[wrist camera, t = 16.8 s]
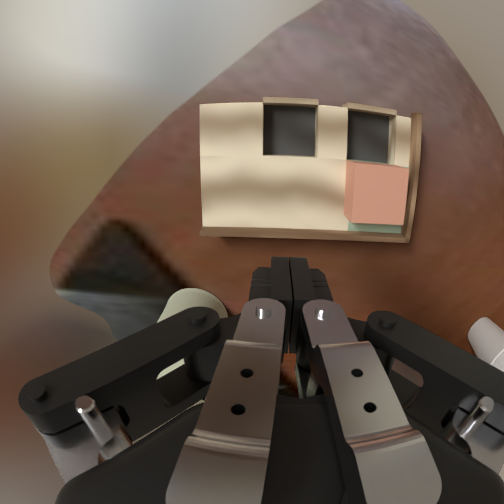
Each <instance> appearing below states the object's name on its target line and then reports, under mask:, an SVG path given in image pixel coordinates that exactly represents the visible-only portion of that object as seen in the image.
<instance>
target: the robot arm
mask: <svg viewBox="0 0 504 504" xmlns="http://www.w3.org/2000/svg"><path fill="white" fill-rule="evenodd" d="M288 343H289V353H296V365H295V372H296V378H297V384H298V390H299V397H300V399H297V398H292V397H287V396H282V395H278V387H279V378H280V369H281V364H282V362H283V357H284V353H288ZM182 359H184V364H183V365H181V366H180V367H178V368H176V369H174V370H173V371H171V372H169V373H167V374H166V375H164V376H162V377H160V378H158V379H157V377H158V375H159V374H160V373H161V372H162V371H163V370H164V369H166V368H168V367H169V366H171V365H173V364H175V363H177V362H178V361H180V360H182ZM204 397H206V399H205V401H204V403H201V404H198V405H196V406H193V407H191V408H189V407H190V406H192V405H194V404H195V403H197V402H198V401H199V400H201V399H203V398H204ZM18 400H19V405H20V407H21V409H22V410H23V411H24V413H25V414H26V415H27V416H28V418H29V419H30V420H31V422H32V423H33V425H34V427H35V428H36V429H37V431H38V432H39V433H40V434H41V435H42V437H43V438H44V439H45V442H46V444H47V447H48V449H49V451H50V454H51V456H52V458H53V460H54V462H55V464H56V466H57V468H58V470H59V472H60V474H61V476H62V478H63V480H64V482H65V485H64V487H63V488H62V489H61V491H60V492H59V494H58V496H57V499H56V502H55V504H504V482H503V480H502V479H501V477H500V476H499V475H498V474H499V472H500V470H501V468H502V465H503V463H504V372H503V371H501V370H499V369H498V368H496V367H494V366H492V365H490V364H488V363H487V362H485V361H483V360H481V359H479V358H477V357H476V356H474V355H472V354H470V353H468V352H466V351H465V350H463V349H461V348H459V347H457V346H455V345H454V344H452V343H450V342H448V341H446V340H444V339H442V338H441V337H439V336H437V335H435V334H433V333H431V332H429V331H428V330H426V329H424V328H422V327H420V326H418V325H416V324H414V323H413V322H411V321H409V320H407V319H405V318H403V317H401V316H399V315H397V314H395V313H393V312H389V311H376V312H373V313H371V314H370V315H369V316H368V319H367V322H365V321H360V320H355V319H351V318H348V317H346V315H345V312H344V310H343V309H342V307H341V306H340V305H338V304H337V303H335V302H334V301H333V298H332V295H331V292H330V289H329V287H328V283H327V280H326V277H325V274H324V273H322V272H321V271H320V270H319V269H309V266H308V262H307V258H305V257H289V260H288V257H271V268H268V267H258V268H257V269H256V270H255V271H254V272H253V276H252V282H251V288H250V295H249V301H248V302H247V303H246V304H245V305H244V307H243V309H242V312H241V313H240V314H238V315H236V316H232V317H226V318H220V317H219V314H218V313H217V312H216V311H215V310H214V309H212V308H209V307H202V306H197V307H191V308H187V309H185V310H183V311H181V312H179V313H177V314H174V315H172V316H170V317H168V318H166V319H164V320H162V321H160V322H158V323H156V324H153V325H151V326H149V327H147V328H145V329H143V330H141V331H139V332H137V333H134V334H132V335H130V336H128V337H126V338H124V339H121V340H119V341H117V342H115V343H113V344H111V345H109V346H106V347H104V348H102V349H100V350H98V351H95V352H93V353H91V354H89V355H87V356H84V357H82V358H80V359H78V360H76V361H73V362H71V363H69V364H67V365H65V366H62V367H60V368H58V369H55V370H53V371H51V372H49V373H46V374H44V375H42V376H40V377H37V378H35V379H33V380H31V381H29V382H28V383H26V385H24V387H23V388H22V389H21V391H20V393H19V398H18ZM187 408H189V409H187ZM186 409H187V410H186ZM184 410H185V411H184ZM183 411H184V412H183ZM181 412H182V413H181ZM180 413H181V414H180ZM178 414H179V415H178ZM176 415H178V416H176ZM175 416H176V417H175ZM173 417H175V418H173ZM172 418H173V419H172ZM170 419H172V420H170ZM168 420H170V421H169V422H167V421H168ZM165 422H167V423H166V424H165V425H163V426H161V427H160V428H158V429H157V430H155V431H154V432H152V433H150V434H149V435H147V436H146V437H144V438H143V439H141V440H139V441H138V442H136V443H134V444H133V445H132V442H133V441H135V440H136V439H138V438H140V437H142V436H143V435H145V434H147V433H149V432H150V431H152V430H154V429H155V428H157V427H159V426H160V425H162V424H163V423H165Z"/></svg>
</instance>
